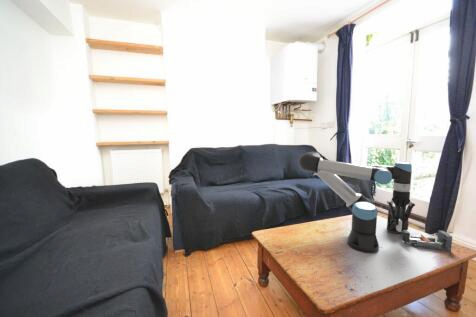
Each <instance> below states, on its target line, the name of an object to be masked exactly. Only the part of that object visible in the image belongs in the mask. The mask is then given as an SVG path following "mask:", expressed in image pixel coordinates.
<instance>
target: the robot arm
mask: <svg viewBox="0 0 476 317" xmlns="http://www.w3.org/2000/svg"><path fill="white" fill-rule="evenodd" d="M298 166H299V168H300V169H301V170H302V171H304V172H310V173H311V174H312V175H313V176H317V177H318V178H319V179H320V180H322V181H323V182H324V183H325V185H327V186H328V187H329V188H330V189H331V190H332V191H333V192H334V193H335V194H336V195H338V196H339V197H340V199H341V200H343V201H344V202H345V203H346V204H345V205H346V207H347V208H348V209H349V210H350V211H351V213H352V214H351V215H352V216H351V230H350V232H349V234H348V236H347V239H346V240H347V245H348V246H349V247H350V248H351V249H354V250H356V251H359V252H361V253H362V252H363V253H369V254H370V253H371V254H373V253H377V252H378V251H379V250H380V249H379V248H380V245H379V241H378V238H377V234H376V233H377V221H378V220H377V219H378V208H377V206H376V205H375V203H374V202H373V201H372V200H371V199H370V198H368V197H366V196H364V195H363V194H362V193H359V192H356V191H355V190H354V189H353V188H352V186H351V187H350V186H349V185H348V183H346V182H345V181H344V180H343V179H342V178H341V177H340V176H342V177H348V178H354V179H358V180H365V181H370V182H375V183H378V184H379V185H387V184H390V183H391V182H392V180H393V184H392V187H393V190H392V198H391V200H387V201H386V204H387V205H388V209H390V213H391V217H392V218H393V219H395V225H396V230H397V231H398V232H401V231H402V226H403V225H404V221H405V220H408V221H409V219H410V216H411V214H412V211H413V208H414V207H415V206H416V203H415V202H412V201H411V199H410V197H411V186H412V185H411V183H412V182H411V181H412V172H413V171H412V169H413V168H412V167H413V166H412V163H410V162H404V161H403V162H398V161H396V162H395V163H394V165H382V164H370V165H369V166H368V165H362V164H354V163H348V162H343V161H342V162H341V161H336V160H329V159H323V157H322V156H321V154H320V153H318V152H316V151H308V152H305V153H303V154H302V155H300V157H299V158H298ZM393 205H394V206H393ZM393 207H395V213H394V209H393ZM400 208H401V210H400ZM405 209H406V212H405ZM399 214H400V219H399Z"/></svg>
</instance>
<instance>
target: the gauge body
mask: <svg viewBox="0 0 476 317" xmlns="http://www.w3.org/2000/svg"><path fill="white" fill-rule="evenodd" d="M425 237H426V238H427V239H428V240H430V241H429V242H426V241H417V240H416V243H410V245H412V246H413V247H414V248H417V249H427V250H428V249H429V250H438V251H447V252H452V244H453V236H452V235H450V234H449V233H448V232H446V231H444V230H439V229H438V231H437V238H436V237H432V236H429V237H427V236H425ZM410 238H419V239H421V238H423V237H422V236H417V235H410ZM436 240H437V241H436Z"/></svg>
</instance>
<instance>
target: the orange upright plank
mask: <svg viewBox="0 0 476 317" xmlns="http://www.w3.org/2000/svg"><path fill="white" fill-rule="evenodd" d="M420 237H423V238H421V240H422V241H426V242H429V241H430V240H428V239H427V238H426V237H427V236H425V235H423V234H420Z"/></svg>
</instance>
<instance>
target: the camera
mask: <svg viewBox="0 0 476 317" xmlns="http://www.w3.org/2000/svg"><path fill="white" fill-rule="evenodd" d="M387 209H388V210H387V224H386V231H387V232H390V233H395V234H399V235H402V233H403V230H407V231H408V230H409V219H408V220H405V221H404V225H403V226H402V231H401V232H398V231H397V230H396V225H395V219H393V218H392V217H391V213H390V209H389V208H387ZM393 209H394V213H395V206H393ZM400 210H401V207H400ZM406 210H407V208H406V209H405V212H406ZM399 219H400V214H399Z"/></svg>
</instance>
